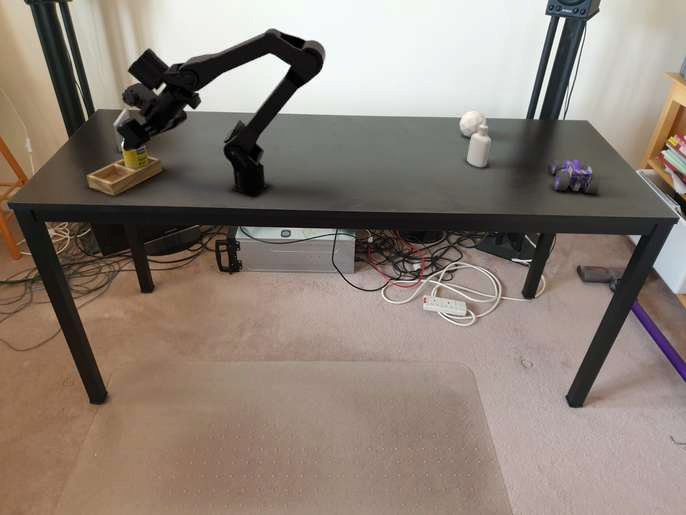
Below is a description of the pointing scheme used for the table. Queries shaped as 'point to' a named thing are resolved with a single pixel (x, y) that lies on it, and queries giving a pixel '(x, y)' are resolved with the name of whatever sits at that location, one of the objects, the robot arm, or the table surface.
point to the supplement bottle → (135, 157)
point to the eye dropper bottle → (479, 147)
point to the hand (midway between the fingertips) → (137, 142)
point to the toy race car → (574, 176)
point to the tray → (122, 176)
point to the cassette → (121, 118)
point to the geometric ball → (471, 123)
